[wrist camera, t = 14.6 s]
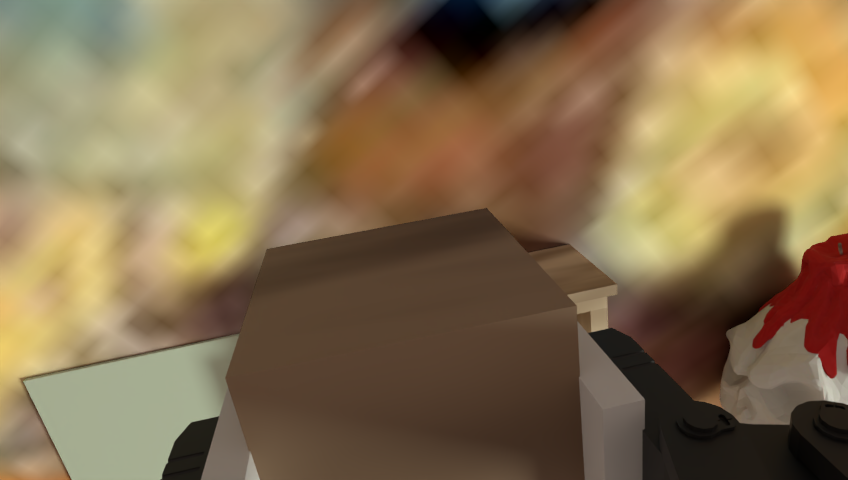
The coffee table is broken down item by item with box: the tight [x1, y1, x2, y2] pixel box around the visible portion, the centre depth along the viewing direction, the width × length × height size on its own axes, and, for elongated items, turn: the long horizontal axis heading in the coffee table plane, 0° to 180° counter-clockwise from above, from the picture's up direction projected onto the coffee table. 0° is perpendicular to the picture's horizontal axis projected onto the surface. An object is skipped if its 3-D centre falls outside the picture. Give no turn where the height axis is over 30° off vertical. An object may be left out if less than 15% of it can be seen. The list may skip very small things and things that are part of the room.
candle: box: [720, 233, 848, 425], centre depth 35 cm, size 9×11×15 cm
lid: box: [23, 333, 240, 480], centre depth 35 cm, size 16×16×3 cm
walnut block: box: [225, 208, 585, 480], centre depth 13 cm, size 6×6×6 cm
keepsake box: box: [529, 244, 617, 333], centre depth 34 cm, size 18×17×6 cm
